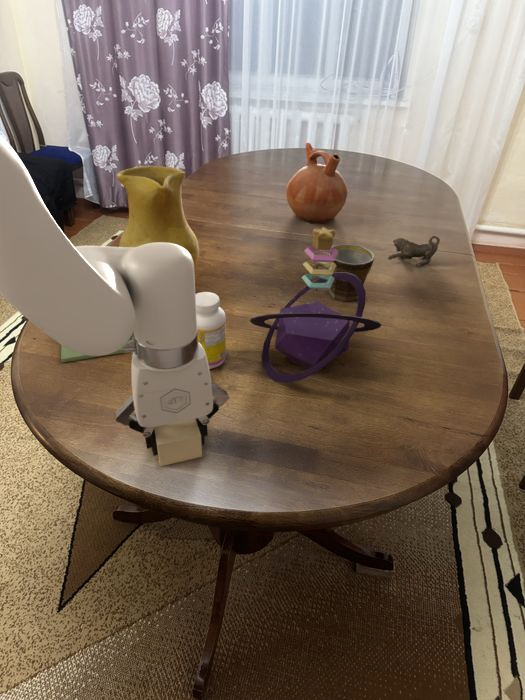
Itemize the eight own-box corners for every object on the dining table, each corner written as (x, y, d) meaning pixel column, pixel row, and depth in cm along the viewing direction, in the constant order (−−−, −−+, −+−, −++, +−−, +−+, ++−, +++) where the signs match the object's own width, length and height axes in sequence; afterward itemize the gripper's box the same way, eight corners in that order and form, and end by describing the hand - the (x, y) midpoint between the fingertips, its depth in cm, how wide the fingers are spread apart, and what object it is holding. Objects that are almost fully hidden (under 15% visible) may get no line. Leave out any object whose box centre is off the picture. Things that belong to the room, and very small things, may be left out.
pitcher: (112, 300, 99) (98, 179, 85) (135, 265, 115) (126, 157, 101) (193, 306, 100) (191, 187, 86) (204, 270, 115) (205, 164, 101)
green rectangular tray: (62, 362, 83) (58, 350, 81) (62, 326, 92) (59, 314, 90) (153, 348, 87) (151, 336, 86) (144, 314, 96) (143, 303, 95)
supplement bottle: (184, 352, 86) (180, 292, 79) (218, 345, 89) (216, 285, 81) (196, 374, 82) (192, 312, 74) (231, 365, 84) (231, 304, 76)
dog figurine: (431, 259, 123) (438, 232, 119) (434, 269, 119) (442, 241, 114) (385, 254, 124) (391, 227, 120) (386, 264, 120) (393, 236, 115)
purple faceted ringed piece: (359, 328, 95) (382, 209, 80) (379, 399, 78) (415, 264, 63) (249, 325, 95) (252, 204, 80) (247, 395, 78) (250, 258, 63)
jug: (273, 210, 147) (277, 142, 135) (321, 202, 154) (328, 138, 142) (304, 231, 134) (312, 159, 122) (354, 222, 142) (366, 153, 129)
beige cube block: (160, 466, 65) (157, 444, 63) (154, 435, 70) (151, 414, 67) (202, 456, 67) (201, 435, 64) (193, 427, 72) (192, 406, 69)
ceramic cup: (354, 281, 111) (361, 242, 105) (374, 302, 104) (383, 261, 98) (303, 287, 108) (308, 247, 102) (321, 310, 100) (326, 268, 94)
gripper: (95, 375, 52) (118, 477, 63) (243, 350, 57) (241, 449, 68) (92, 337, 58) (114, 437, 68) (227, 318, 62) (227, 414, 73)
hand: (177, 442), depth 68 cm, fingers closed on beige cube block, 6 cm apart
